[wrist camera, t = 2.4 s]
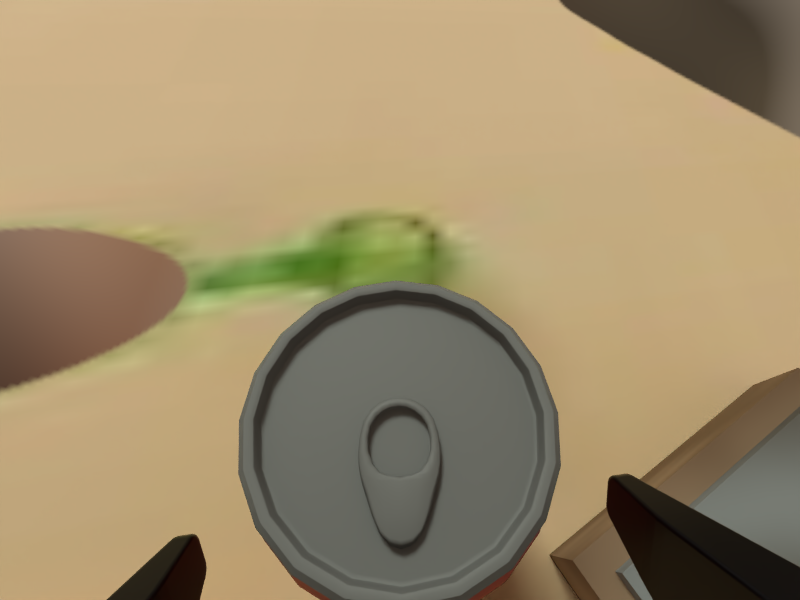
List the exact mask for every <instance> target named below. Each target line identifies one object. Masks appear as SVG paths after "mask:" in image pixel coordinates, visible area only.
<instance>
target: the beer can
mask: <svg viewBox="0 0 800 600" xmlns="http://www.w3.org/2000/svg"><path fill="white" fill-rule="evenodd" d="M560 467H561V461H560V443H559V424H558V412H557V409H556V406H555V403H554V401H553V398H552V395H551V393H550V390H549V387H548V384H547V382H546V379H545V376H544V374H543V371H542V368H541V366H540V364H539V363H538V362H537V360H536V359H535V358H534V356H533V355H532V354H531V352H530V351H529V350H528V348H527V347H526V345H525V344H524V343H523V341H522V340H521V339H520V337H519V336H518V335H517V333H516V332H515V331H514V329H513V328H512V327H510V326H509V325H508V324H506V323H505V322H504V321H503V320H501V319H500V318H499V317H497V316H496V315H495V314H493V313H492V312H491V311H490V310H488V309H487V308H486V307H484V306H483V305H482V304H480V303H479V302H478V301H476V300H473V299H471V298H468V297H466V296H463V295H461V294H458V293H456V292H453V291H451V290H448V289H446V288H443V287H441V286H438V285H430V284H421V283H412V282H403V281H391V282H385V283H378V284H372V285H366V286H360V287H354V288H352V289H350V290H347V291H345V292H343V293H341V294H339V295H336V296H334V297H332V298H330V299H328V300H325V301H323V302H321V303H319V304H317V305H315V306H314V307H312V308H311V309H310V310H309V311H308V312H306V313H305V314H304V315H303V316H302V317H301V318H299V319H298V320H297V321H296V322H295V323H293V324H292V325H291V326H290V327H289V328H287V329H286V330H285V331H284V332H283V333H281V335H280V336H279V338H278V339H277V340H276V342H275V343H274V345H273V346H272V348H271V349H270V351H269V352H268V354H267V355H266V357H265V358H264V360H263V361H262V363H261V364H260V366H259V367H258V368H257V370H256V371H255V373H254V376H253V379H252V382H251V385H250V388H249V392H248V395H247V398H246V401H245V404H244V407H243V410H242V413H241V416H240V419H239V470H238V474H239V477H240V480H241V484H242V487H243V490H244V493H245V496H246V500H247V503H248V506H249V509H250V512H251V515H252V519H253V522H254V525H255V528H256V529H257V531H258V532H259V533H260V535H261V536H262V537H263V539H264V541H265V542H266V543H267V545H268V546H269V547H270V549H271V550H272V551H273V553H274V554H275V555H276V557H277V558H278V559H279V561H280V562H281V563H282V565H283V566H284V567H285V569H286V570H287V571H288V573H289V574H290V575H291V577H292V578H293V579H294V581H295V582H296V583H297V585H299V586H300V587H301V588H303V589H304V590H306V591H307V592H309V593H311V594H312V595H314V596H315V597H317V598H319V599H320V600H480V599H482V598H483V597H484V596H486V595H487V594H489V593H490V592H492V591H493V590H494V589H496V588H497V587H499V586H500V585H502V584H503V583H504V582H506V580H507V579H508V578H509V576H510V575H511V574H512V572H513V571H514V569H515V568H516V566H517V565H518V563H519V562H520V560H521V559H522V557H523V556H524V555H525V553H526V552H527V550H528V549H529V547H530V546H531V544H532V543H533V541H534V540H535V538H536V537H537V536H538V534H539V532H540V529H541V527H542V526H543V524H544V523H545V521H546V519H547V515H548V511H549V508H550V504H551V500H552V496H553V493H554V489H555V485H556V482H557V478H558V474H559V470H560Z"/></svg>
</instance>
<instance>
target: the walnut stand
mask: <svg viewBox="0 0 800 600" xmlns="http://www.w3.org/2000/svg"><path fill="white" fill-rule="evenodd" d="M640 480H641V481H643V482H645V483H647V484H649V485H650V486H652V487H654V488H656V489H658V490H660V491H661V492H663V493H665V494H667V495H669V496H671V497H672V498H674V499H676V500H678V501H680V502H682V503H683V504H685V505H687V506H689V507H691V508H693V509H695V510H696V511H698V512H700V513H702V514H704V515H706V516H707V517H709V518H711V519H713V520H715V521H717V522H718V523H720V524H722V525H724V526H726V527H728V528H729V529H731V530H733V531H735V532H737V533H739V534H740V535H742V536H744V537H746V538H748V539H750V540H751V541H753V542H755V543H757V544H759V545H761V546H763V547H764V548H766V549H768V550H770V551H772V552H774V553H775V554H777V555H779V556H781V557H783V558H785V559H786V560H788V561H790V562H792V563H794V564H796V565H797V566H799V567H800V369H799V368H796V369H794V370H791V371H789V372H786V373H783V374H781V375H778V376H776V377H773V378H770V379H768V380H765V381H763V382H760V383H758V384H755V385H753V386H752V387H751V388H749V389H748V390H747V391H746V392H745V393H743V394H742V395H741V396H740V397H739V398H737V399H736V400H735V401H734V402H733V403H731V404H730V405H729V406H728V407H727V408H725V409H724V410H723V411H722V412H721V413H719V414H718V415H717V416H716V417H714V418H713V419H712V420H711V421H710V422H708V423H707V424H706V425H705V426H704V427H702V428H701V429H700V430H699V431H698V432H696V433H695V434H694V435H693V436H692V437H690V438H689V439H688V440H687V441H686V442H684V443H683V444H682V445H681V446H680V447H678V448H677V449H676V450H675V451H674V452H672V453H671V454H670V455H669V456H668V457H666V458H665V459H664V460H663V461H662V462H660V463H659V464H658V465H657V466H656V467H654V468H653V469H652V470H651V471H650V472H648V473H647V474H646V475H645V476H644V477H642V478H641V479H640ZM550 556H551V558H552V559H553V561H554V562H555V564H556V565H557V567H558V568H559V569H560V571H561V572H562V574H563V575H564V577H565V578H566V580H567V581H568V583H569V584H570V586H571V587H572V588H573V590H574V591H575V593H576V594H577V596H578V597H579V599H580V600H653V599H652V597H651V596H650V594H649V592H648V591H647V589H646V587H645V585H644V583H643V581H642V580H641V578H640V576H639V574H638V572H637V570H636V568H635V566H634V564H633V562H632V560H631V558H630V556H629V554H628V552H627V550H626V548H625V547H624V545H623V543H622V541H621V539H620V537H619V535H618V533H617V531H616V529H615V527H614V525H613V523H612V521H611V519H610V517H609V515H608V512H607V507H606V508H605V509H604V510H603V511H602V512H600V513H599V514H598V515H597V516H596V517H594V518H593V519H592V520H591V521H590V522H588V523H587V524H586V525H585V526H584V527H582V528H581V529H580V530H579V531H578V532H576V533H575V534H574V535H573V536H572V537H570V538H569V539H568V540H567V541H566V542H564V543H563V544H562V545H561V546H560V547H558V548H557V549H556V550H555V551H553V552H552V553H551V554H550Z"/></svg>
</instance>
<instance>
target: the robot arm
mask: <svg viewBox="0 0 800 600" xmlns="http://www.w3.org/2000/svg"><path fill="white" fill-rule="evenodd" d="M606 506H607V512H608V515H609V517H610V519H611V521H612V523H613V525H614V527H615V529H616V531H617V533H618V535H619V537H620V539H621V541H622V543H623V545H624V547H625V548H626V550H627V552H628V554H629V556H630V558H631V560H632V562H633V564H634V566H635V568H636V570H637V572H638V574H639V576H640V578H641V580H642V581H643V583H644V585H645V587H646V589H647V591H648V592H649V594H650V596H651V597H652V599H653V600H800V567H799V566H797V565H796V564H794V563H792V562H790V561H788V560H786V559H785V558H783V557H781V556H779V555H777V554H775V553H774V552H772V551H770V550H768V549H766V548H764V547H763V546H761V545H759V544H757V543H755V542H753V541H751V540H750V539H748V538H746V537H744V536H742V535H740V534H739V533H737V532H735V531H733V530H731V529H729V528H728V527H726V526H724V525H722V524H720V523H718V522H717V521H715V520H713V519H711V518H709V517H707V516H706V515H704V514H702V513H700V512H698V511H696V510H695V509H693V508H691V507H689V506H687V505H685V504H683V503H682V502H680V501H678V500H676V499H674V498H672V497H671V496H669V495H667V494H665V493H663V492H661V491H660V490H658V489H656V488H654V487H652V486H650V485H649V484H647V483H645V482H643V481H641V480H639V479H638V478H636V477H634V476H632V475H630V474H621V475H613V476H611V477H610V478H609V480H608V489H607V503H606ZM205 576H206V561H205V558H204V554H203V551H202V548H201V544H200V541H199V538H198V537H197V535H195V534H189V535H182V536H177V537H175V538H173V539H172V540H171V541H170V542H169V543H168V544H166V545H165V546H164V547H163V548H162V549H161V550H160V551H159V552H158V553H157V554H156V555H155V556H153V557H152V558H151V559H150V560H149V561H148V562H147V563H146V564H145V565H144V566H143V567H142V568H140V569H139V570H138V571H137V572H136V573H135V574H134V575H133V576H132V577H131V578H130V579H129V580H128V581H126V582H125V583H124V584H123V585H122V586H121V587H120V588H119V589H118V590H117V591H116V592H115V593H113V594H112V595H111V596H110V597H109V598H108V599H107V600H200V597H201V593H202V589H203V584H204V580H205Z"/></svg>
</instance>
